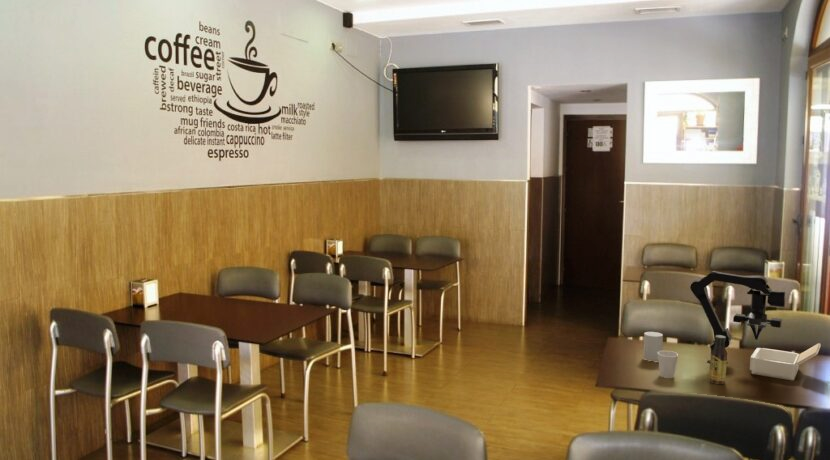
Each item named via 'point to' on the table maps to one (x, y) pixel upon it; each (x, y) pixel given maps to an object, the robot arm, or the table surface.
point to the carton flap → (808, 354)
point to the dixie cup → (667, 363)
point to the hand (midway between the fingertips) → (756, 339)
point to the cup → (652, 345)
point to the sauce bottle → (718, 361)
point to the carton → (774, 363)
